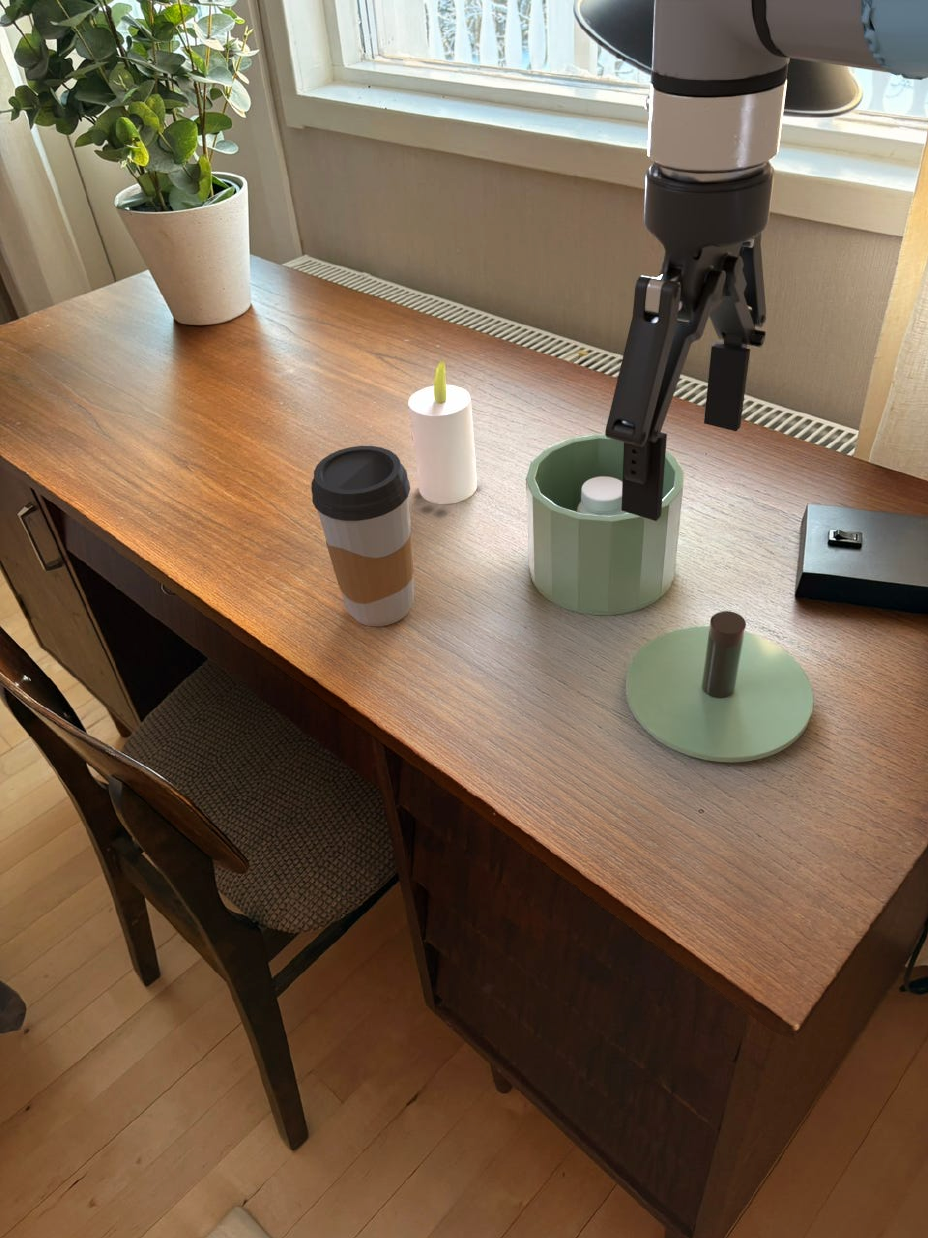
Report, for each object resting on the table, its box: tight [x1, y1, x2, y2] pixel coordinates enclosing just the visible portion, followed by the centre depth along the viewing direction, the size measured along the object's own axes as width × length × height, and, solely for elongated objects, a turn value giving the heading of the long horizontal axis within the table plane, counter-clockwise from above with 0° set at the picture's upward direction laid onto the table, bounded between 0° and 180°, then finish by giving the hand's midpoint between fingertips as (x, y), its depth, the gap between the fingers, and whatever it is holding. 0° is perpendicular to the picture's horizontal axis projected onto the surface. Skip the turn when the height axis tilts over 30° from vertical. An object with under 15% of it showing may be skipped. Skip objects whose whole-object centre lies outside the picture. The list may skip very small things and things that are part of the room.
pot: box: [525, 433, 685, 616], centre depth 86 cm, size 14×14×10 cm
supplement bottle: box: [577, 476, 628, 516], centre depth 87 cm, size 5×5×8 cm
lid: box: [625, 610, 814, 763], centre depth 74 cm, size 15×15×8 cm
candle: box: [407, 359, 478, 505], centre depth 97 cm, size 6×6×15 cm
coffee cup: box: [310, 445, 415, 627], centre depth 83 cm, size 8×8×15 cm
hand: (683, 467), depth 70 cm, fingers open, 13 cm apart
